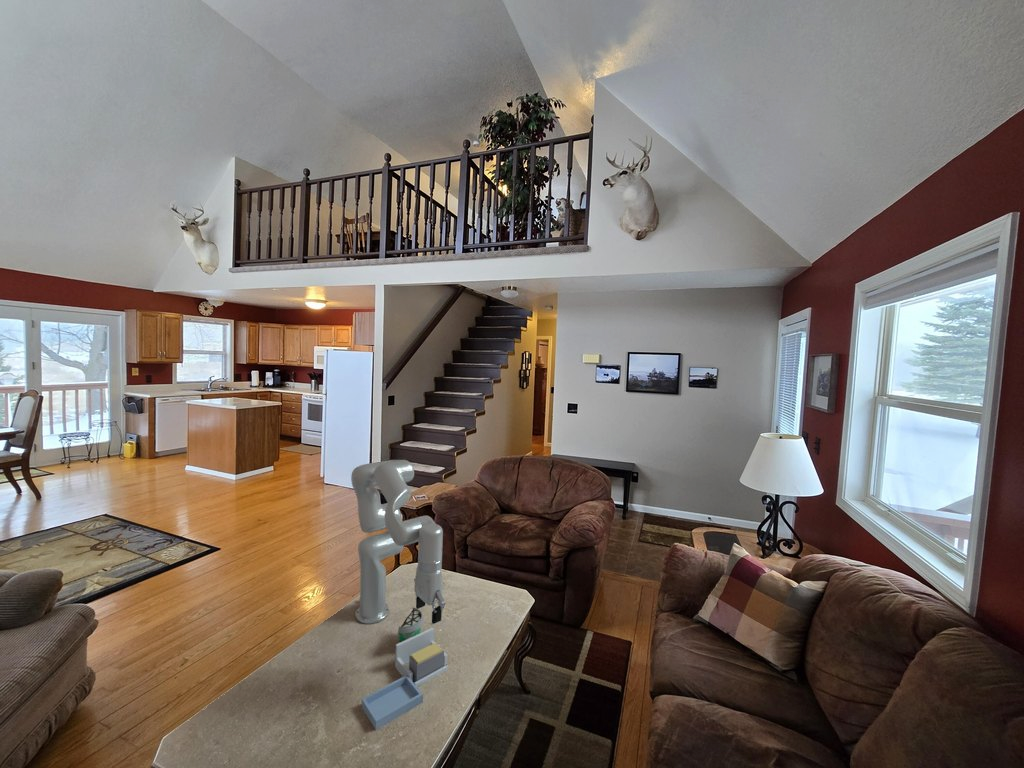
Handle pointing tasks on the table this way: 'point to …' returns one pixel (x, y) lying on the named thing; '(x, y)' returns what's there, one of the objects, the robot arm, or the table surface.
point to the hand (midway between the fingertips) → (428, 614)
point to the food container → (411, 625)
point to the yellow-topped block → (426, 661)
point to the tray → (391, 701)
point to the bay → (411, 647)
